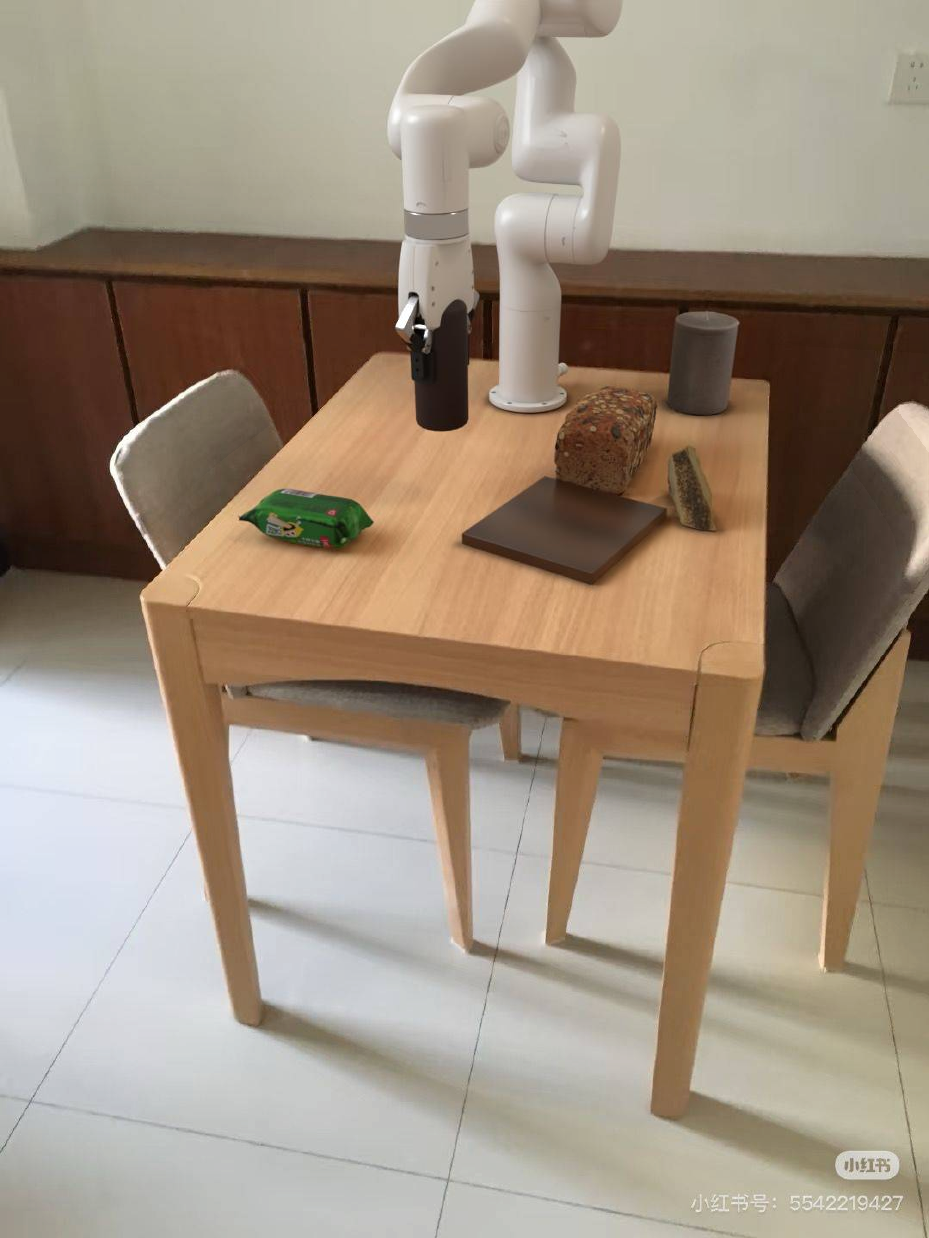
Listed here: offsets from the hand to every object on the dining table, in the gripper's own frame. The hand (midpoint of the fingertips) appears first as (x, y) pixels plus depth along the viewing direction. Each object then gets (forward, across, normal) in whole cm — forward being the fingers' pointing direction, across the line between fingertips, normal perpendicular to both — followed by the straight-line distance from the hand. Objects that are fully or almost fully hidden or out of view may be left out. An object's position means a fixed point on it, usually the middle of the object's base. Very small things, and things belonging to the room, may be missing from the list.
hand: (440, 371), depth 128 cm
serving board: (+17, +1, +19) cm, 25 cm away
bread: (+17, -19, +14) cm, 30 cm away
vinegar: (+7, 0, 0) cm, 7 cm away
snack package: (+17, +20, -7) cm, 27 cm away
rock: (+17, -13, +30) cm, 37 cm away
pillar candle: (+18, -49, +15) cm, 55 cm away
